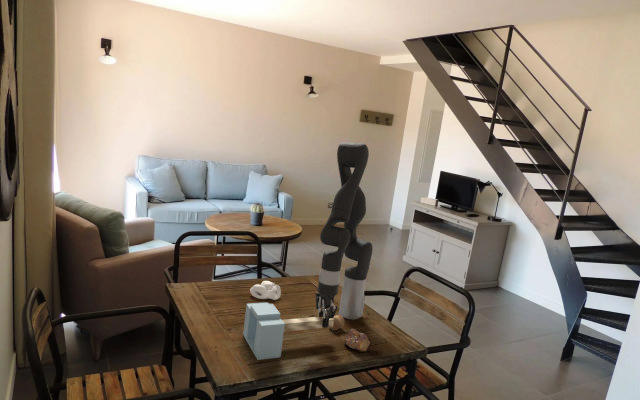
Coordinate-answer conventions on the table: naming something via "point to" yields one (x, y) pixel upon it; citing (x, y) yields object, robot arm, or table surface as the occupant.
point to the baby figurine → (266, 290)
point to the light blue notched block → (263, 330)
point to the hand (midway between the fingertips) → (322, 324)
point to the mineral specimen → (357, 340)
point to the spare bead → (337, 322)
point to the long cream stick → (305, 323)
